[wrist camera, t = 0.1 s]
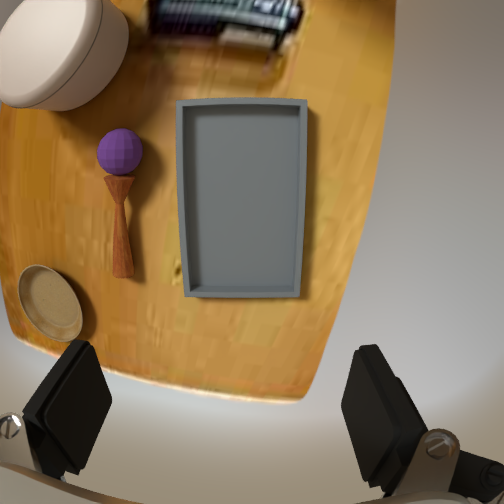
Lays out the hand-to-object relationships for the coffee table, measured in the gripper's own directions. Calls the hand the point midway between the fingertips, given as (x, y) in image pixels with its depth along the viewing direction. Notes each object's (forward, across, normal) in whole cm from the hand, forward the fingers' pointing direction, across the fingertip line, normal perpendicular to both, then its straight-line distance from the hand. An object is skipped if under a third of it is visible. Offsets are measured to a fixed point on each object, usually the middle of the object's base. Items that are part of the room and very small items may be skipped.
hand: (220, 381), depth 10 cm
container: (+31, +24, -24) cm, 46 cm away
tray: (+31, 0, -1) cm, 31 cm away
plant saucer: (+32, +33, +15) cm, 48 cm away
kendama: (+32, +16, -1) cm, 35 cm away
